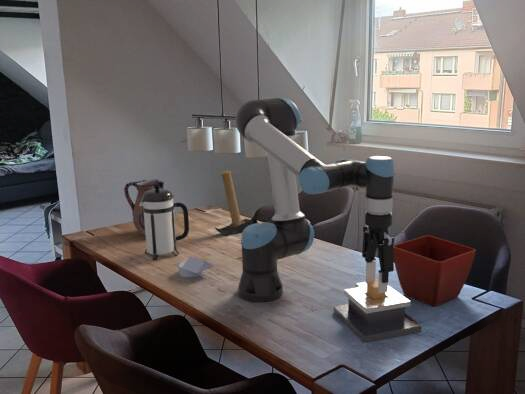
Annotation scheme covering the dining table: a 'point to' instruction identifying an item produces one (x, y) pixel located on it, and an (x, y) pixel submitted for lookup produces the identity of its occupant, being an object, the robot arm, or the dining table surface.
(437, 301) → the plant pot
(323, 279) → the dining table surface
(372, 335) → the tabbed square frame
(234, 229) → the hammer
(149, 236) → the coffee press
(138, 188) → the ceramic pitcher
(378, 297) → the orange rectangular block
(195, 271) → the lavender faceted polyhedron
